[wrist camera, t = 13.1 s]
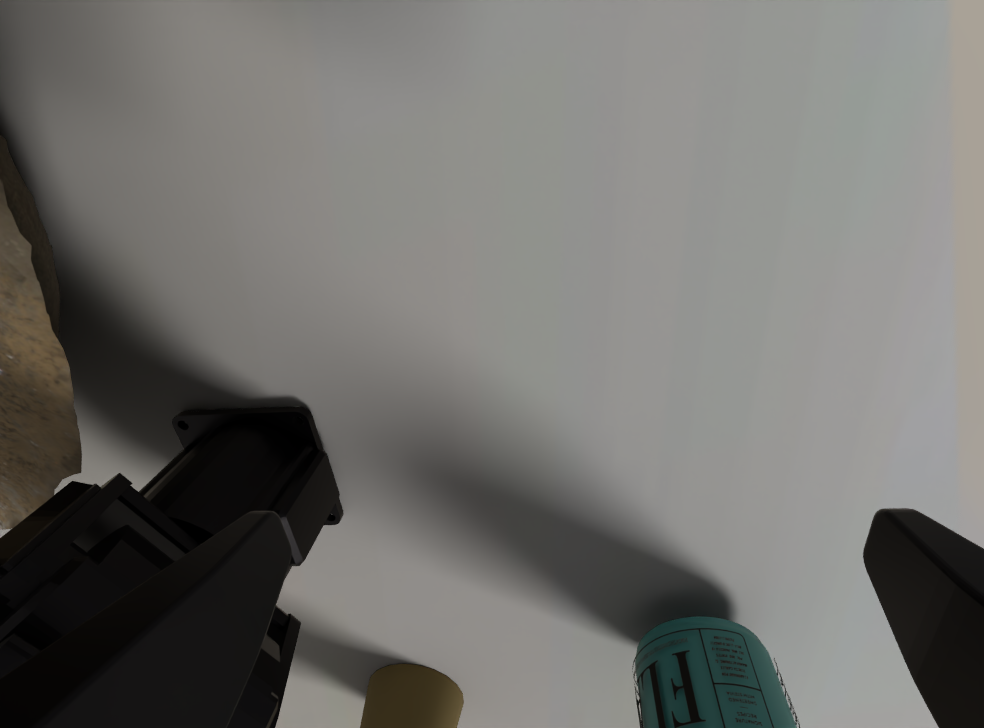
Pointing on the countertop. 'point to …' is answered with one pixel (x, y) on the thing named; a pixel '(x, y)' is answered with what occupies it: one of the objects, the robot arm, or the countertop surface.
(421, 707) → the cork
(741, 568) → the countertop surface
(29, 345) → the stone bowl
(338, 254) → the countertop surface
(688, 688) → the beverage bottle
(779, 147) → the countertop surface
